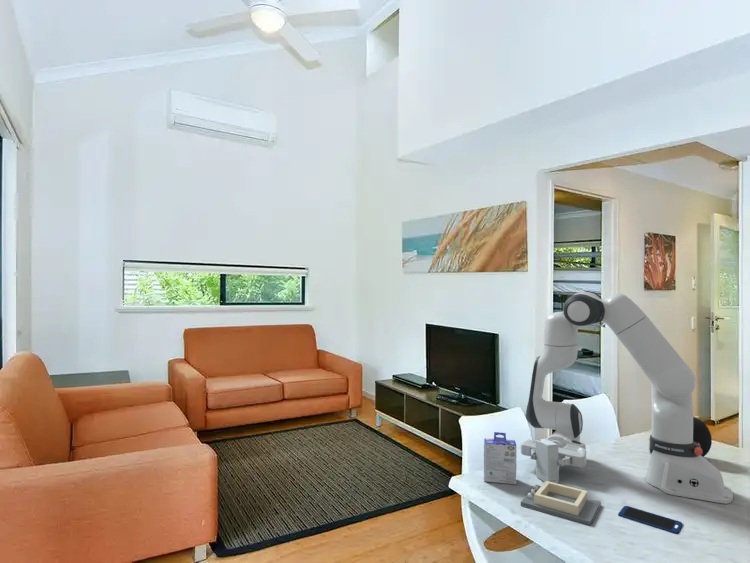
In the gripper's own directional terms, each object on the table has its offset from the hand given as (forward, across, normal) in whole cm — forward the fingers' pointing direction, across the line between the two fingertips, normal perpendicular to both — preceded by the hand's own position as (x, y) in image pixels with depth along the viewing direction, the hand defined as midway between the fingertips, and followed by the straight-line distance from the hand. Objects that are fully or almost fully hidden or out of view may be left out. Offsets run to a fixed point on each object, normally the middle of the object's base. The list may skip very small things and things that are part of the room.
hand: (546, 460), depth 148 cm
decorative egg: (-52, +36, +7) cm, 64 cm away
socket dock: (+14, +8, +6) cm, 17 cm away
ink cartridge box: (+8, -12, +7) cm, 16 cm away
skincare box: (-1, 0, +7) cm, 7 cm away
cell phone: (+8, +29, +7) cm, 31 cm away
